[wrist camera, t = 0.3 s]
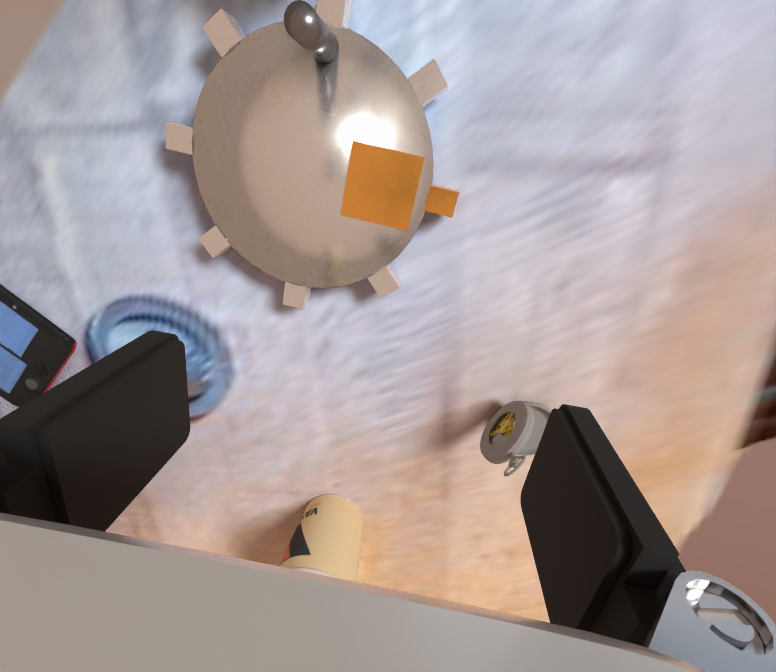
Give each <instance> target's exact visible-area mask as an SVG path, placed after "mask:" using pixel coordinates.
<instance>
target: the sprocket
mask: <svg viewBox="0 0 776 672" xmlns="http://www.w3.org/2000/svg"><path fill="white" fill-rule="evenodd" d="M351 7H352V0H317V6H316V12H315V10H314V9H313V8H312V7H311V6H310V5H309V4H308V3H307V2H305V1H301V0H298V1H294V2H292V3H291V4H290V5H289V6H288V7H287V9H286V11H285V14H284V21H283V22H278V23H274V24H271V25H268V26H266V27H263V28H260V29H258V30H256V31H254V32H253V33H251V34H249V35H247V36H245V34H244V33H243V31H242V30H241V28H240V27H239V25H238V23H237V22H236V20H235V19H234V17H233V16H231V15H230V14H228V13H227V12H225V11H224V10H223V9H220V10H219V11H218V12H217V13H216V14H215V15H214V16H213V17H212V18H211V19H210V20H209V21H208V22H207V23H206V24H205V25H204V26H203V27H202V29H203V30H204V32H205V33H206V35H207V36H208V38H209V39H210V41H211V42H212V44H213V45H214V47H215V48H216V50H217V51H218V53H219V54H220V56H221V57H222V58H221V59H220V60H219V61H218V63H217V64H216V66H215V67H214V69H213V70H212V72H211V73H210V75H209V77H208V79H207V81H206V83H205V85H204V87H203V89H202V91H201V94H200V97H199V100H198V103H197V106H196V111H195V116H194V121H193V127H191V126H186V125H182V124H177V123H170V122H166V149H170V150H174V151H178V152H182V153H186V154H191V155H192V158H193V165H194V171H195V177H196V180H197V184H198V187H199V191H200V194H201V196H202V199H203V201H204V204H205V206H206V209H207V211H208V212H209V214H210V216H211V218H212V220H213V222H214V223H215V226H214V227H213V228H211V229H210V230H209V231H208V232H206V233H205V234H204V235H202V236H201V237H200V238H198V240H199V241H200V242H201V244H202V245H203V246H204V247H205V249H206V250H207V251H208V253H209V254H210V255H211V256H212V258H213V257H215V256H218V255H220V254H222V253H224V252H225V251H227V250H228V249H229V248H231V247H233V248H234V249H235V250H236V251H237V252H238V253H239V254H240V255H241V256H242V257H243V258H244V259H246V260H247V261H248V262H250V263H251V264H252V265H254V266H255V267H256V268H258V269H260V270H261V271H263V272H265V273H266V274H268V275H270V276H272V277H275V278H277V279H279V280H281V281H284V282H285V288H284V297H283V305H287V306H291V307H295V308H299V309H304V308H305V307H306V306H307V305H308V304H309V301H310V294H311V288H333V287H340V286H345V285H350V284H353V283H356V282H359V281H361V280H364V279H366V278H368V280H369V281H370V283H371V285H372V286H373V288H374V289H375V291H376V292H377V294H378V295H379V297H380V298H383V297H385V296H386V295H388V294H390V293H392V292H393V291H395V290H397V289H398V288H400V284H401V281H400V279H399V277H398V276H397V274H396V273H395V271H394V270H393V268H392V266H391V265H390V263H391V262H392V261H393V260H394V259H395V258H396V257H397V256H398V255H399V254H400V253H401V252H402V251H403V250H404V248H405V247H406V246H407V245H408V243H409V242H410V241H411V239H412V237H413V236H414V234H415V233H416V231H417V229H418V227H419V225H420V223H421V221H422V218H423V216H424V214H425V211H427V212H432V213H436V214H440V215H444V216H448V217H452V216H453V212H454V209H455V205H456V202H457V198H458V194H459V192H458V191H457V190H453V189H449V188H445V187H441V186H436V185H432V181H433V148H432V142H431V136H430V131H429V126H428V123H427V120H426V117H425V114H424V111H423V107H424V106H426V105H427V104H429V103H430V102H431V101H433V100H434V99H435V98H437V97H438V96H440V95H441V94H442V93H444V92H445V91H446V90H447V88H448V85H447V83H446V81H445V79H444V77H443V75H442V73H441V71H440V69H439V67H438V65H437V63H436V61H435V60H434V59H433V60H432V61H430V62H429V63H428V64H426V65H425V66H424V67H422V68H421V69H420V70H419V71H417V72H416V73H415V74H413V75H412V76H411V77H409V78H408V79H407V78H406V76H405V75H404V74H403V72H402V71H401V70H400V69H399V68H398V66H397V65H396V64H395V63H394V61H393V60H392V59H391V58H390V57H389V56H387V55H386V54H385V53H384V52H383V51H382V50H381V49H380V48H379V47H378V46H376V45H375V44H373V43H372V42H370V41H369V40H368V39H366V38H365V37H363V36H361V35H359V34H357V33H355V32H353V31H351V30H349V29H348V28H349V21H350V14H351Z"/></svg>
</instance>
